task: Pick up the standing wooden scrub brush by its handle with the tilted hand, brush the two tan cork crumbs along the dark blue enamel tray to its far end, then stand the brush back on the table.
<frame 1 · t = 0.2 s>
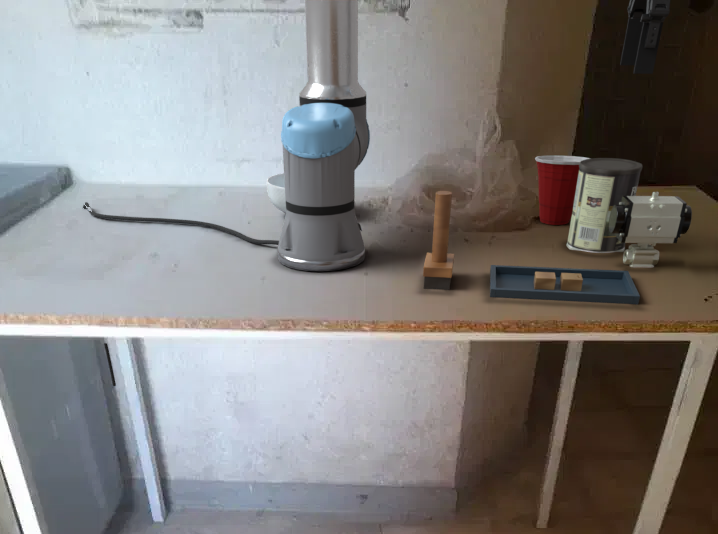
hand: (635, 69, 116), 28 cm above the table, tool pointing down, fingers open, 13 cm apart
plastic cup: (554, 222, 147), on the table
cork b: (570, 287, 113), point 1 cm above the table, touching tray
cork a: (543, 286, 114), point 1 cm above the table, touching tray
cereal bowl: (308, 216, 152), on the table
brush: (437, 285, 117), on the table
tray: (559, 290, 114), on the table
pneumatic valve: (638, 269, 123), on the table
coffee can: (594, 248, 132), on the table
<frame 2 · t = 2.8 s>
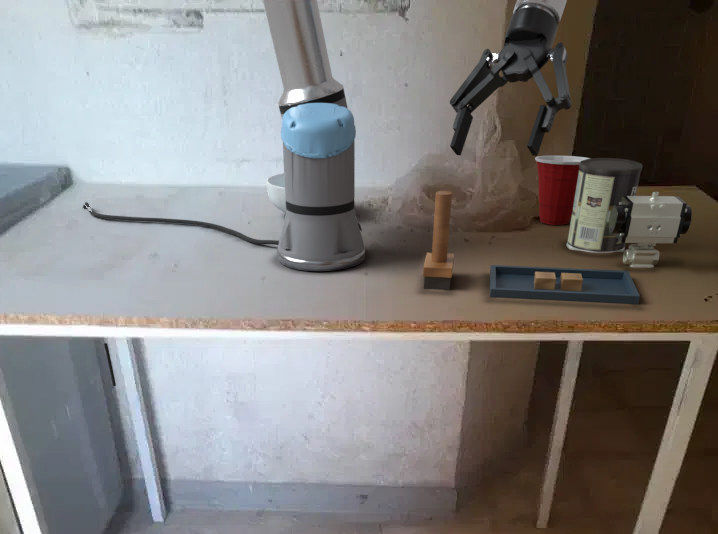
hand: (492, 151, 116), 18 cm above the table, tool tilted 40°, fingers open, 13 cm apart
nothing on the table moved.
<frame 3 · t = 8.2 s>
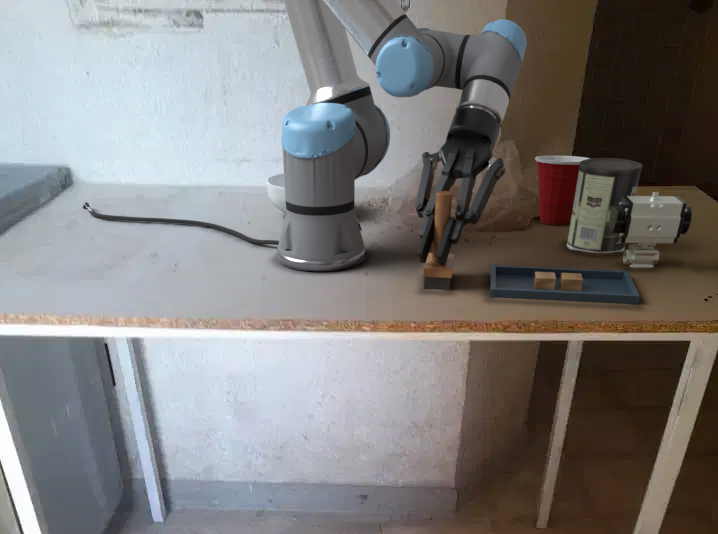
hand: (430, 259, 111), 5 cm above the table, tool tilted 45°, fingers closed on brush, 2 cm apart
brush: (437, 285, 117), on the table, touching gripper
everything else where it was.
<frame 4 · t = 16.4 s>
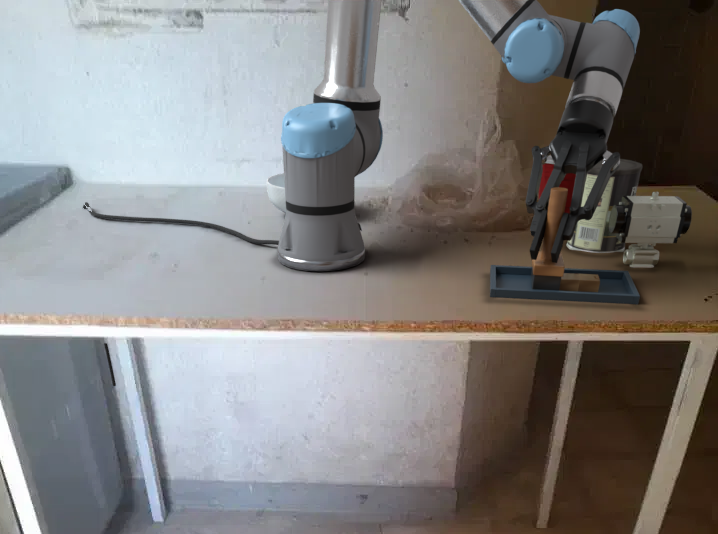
hand: (543, 256, 108), 6 cm above the table, tool tilted 45°, fingers closed on brush, 2 cm apart
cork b: (586, 288, 113), point 1 cm above the table, touching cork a
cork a: (567, 287, 113), point 1 cm above the table, touching brush, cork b
brush: (544, 284, 114), point 1 cm above the table, touching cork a, gripper
everything else where it was.
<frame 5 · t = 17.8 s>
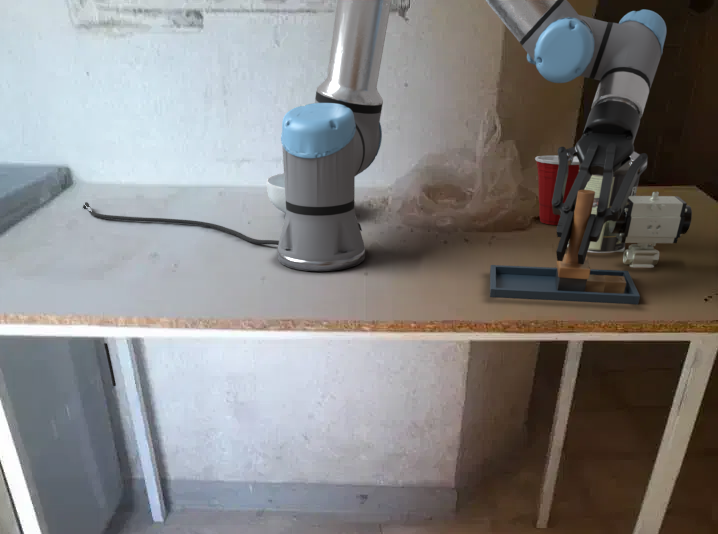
hand: (570, 257, 107), 6 cm above the table, tool tilted 45°, fingers closed on brush, 2 cm apart
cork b: (612, 290, 112), point 1 cm above the table, touching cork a, tray
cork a: (592, 289, 113), point 1 cm above the table, touching brush, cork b, tray
brush: (569, 287, 113), point 1 cm above the table, touching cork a, gripper
everything else where it was.
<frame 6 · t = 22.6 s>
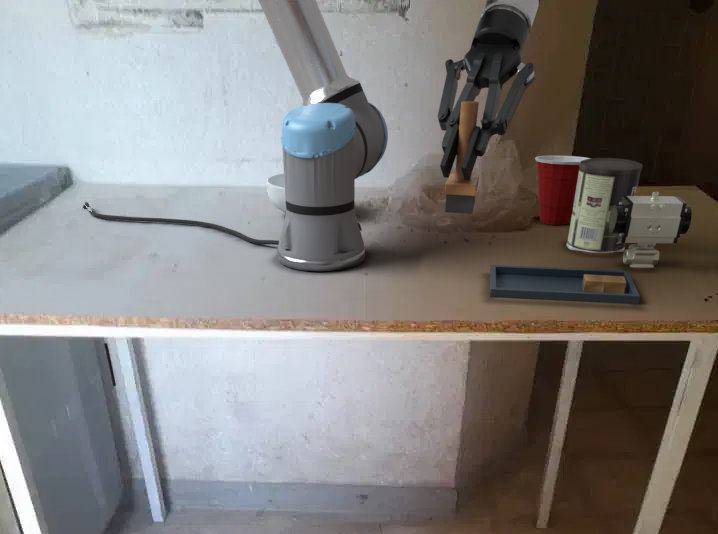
hand: (454, 172, 103), 18 cm above the table, tool tilted 45°, fingers closed on brush, 2 cm apart
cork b: (612, 290, 112), point 1 cm above the table, touching tray
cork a: (592, 289, 113), point 1 cm above the table, touching tray
brush: (460, 207, 109), point 12 cm above the table, touching gripper
everything else where it was.
when the fingers open (6 cm above the table, at t = 26.2 s): brush stays where it is, on the table.
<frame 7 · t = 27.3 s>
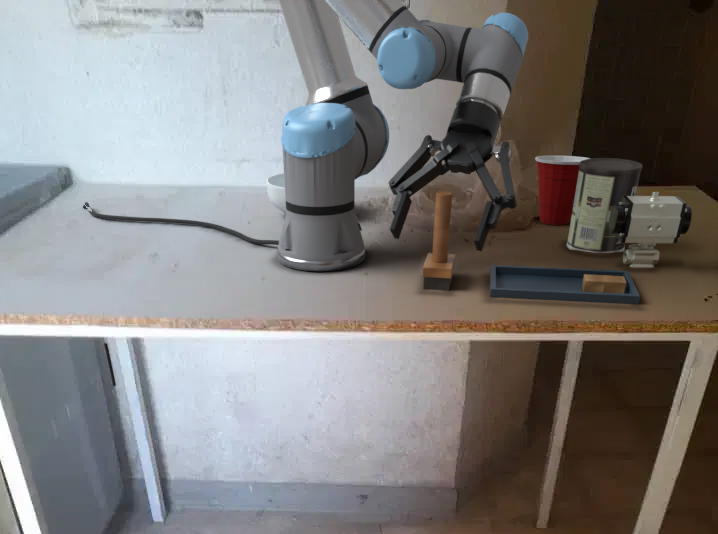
hand: (434, 240, 111), 8 cm above the table, tool tilted 45°, fingers open, 13 cm apart
brush: (437, 285, 116), on the table
everything else where it was.
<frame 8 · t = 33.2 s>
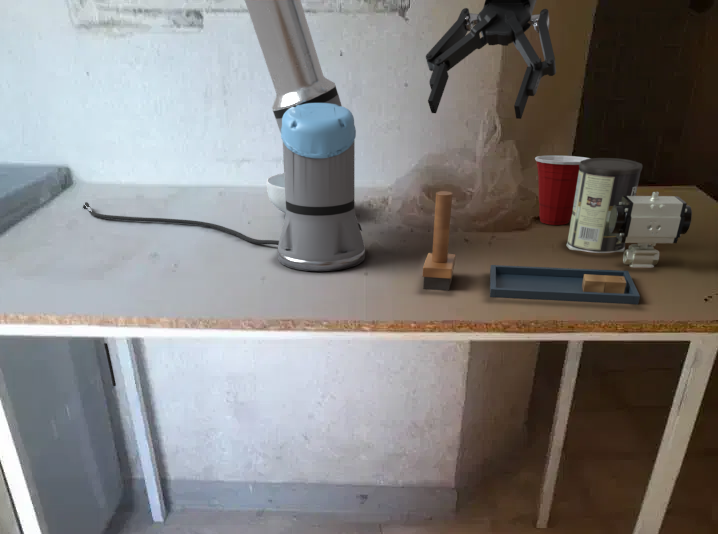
hand: (473, 110, 111), 24 cm above the table, tool tilted 45°, fingers open, 13 cm apart
nothing on the table moved.
at the end: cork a inside the target area in the tray (1.7 cm from its centre), point 0.6 cm above the tray's base; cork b inside the target area in the tray (1.4 cm from its centre), point 0.6 cm above the tray's base; brush tilted 0° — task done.
